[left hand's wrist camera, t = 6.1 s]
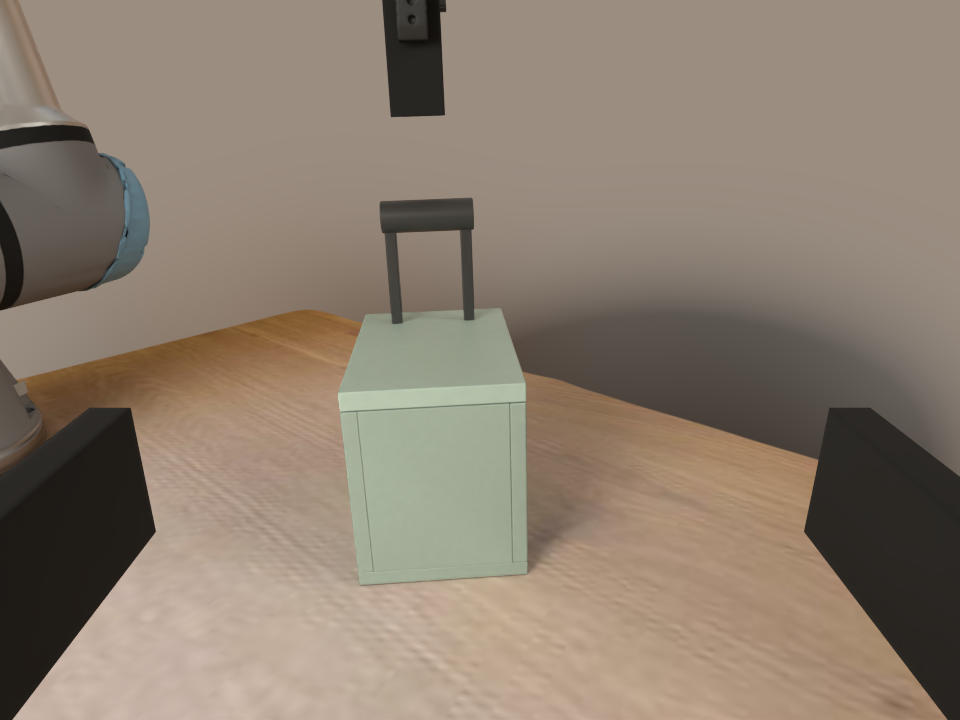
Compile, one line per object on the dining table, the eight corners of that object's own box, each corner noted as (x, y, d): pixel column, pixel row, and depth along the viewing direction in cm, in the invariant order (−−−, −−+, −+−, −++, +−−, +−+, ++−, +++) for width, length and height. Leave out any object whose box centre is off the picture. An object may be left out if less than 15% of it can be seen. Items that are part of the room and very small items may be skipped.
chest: (378, 469, 50) (365, 333, 46) (505, 461, 50) (502, 326, 47) (359, 585, 37) (339, 413, 34) (527, 574, 38) (526, 402, 34)
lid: (366, 328, 47) (354, 198, 44) (501, 322, 48) (498, 192, 44) (339, 411, 34) (319, 233, 31) (526, 401, 34) (524, 225, 31)
